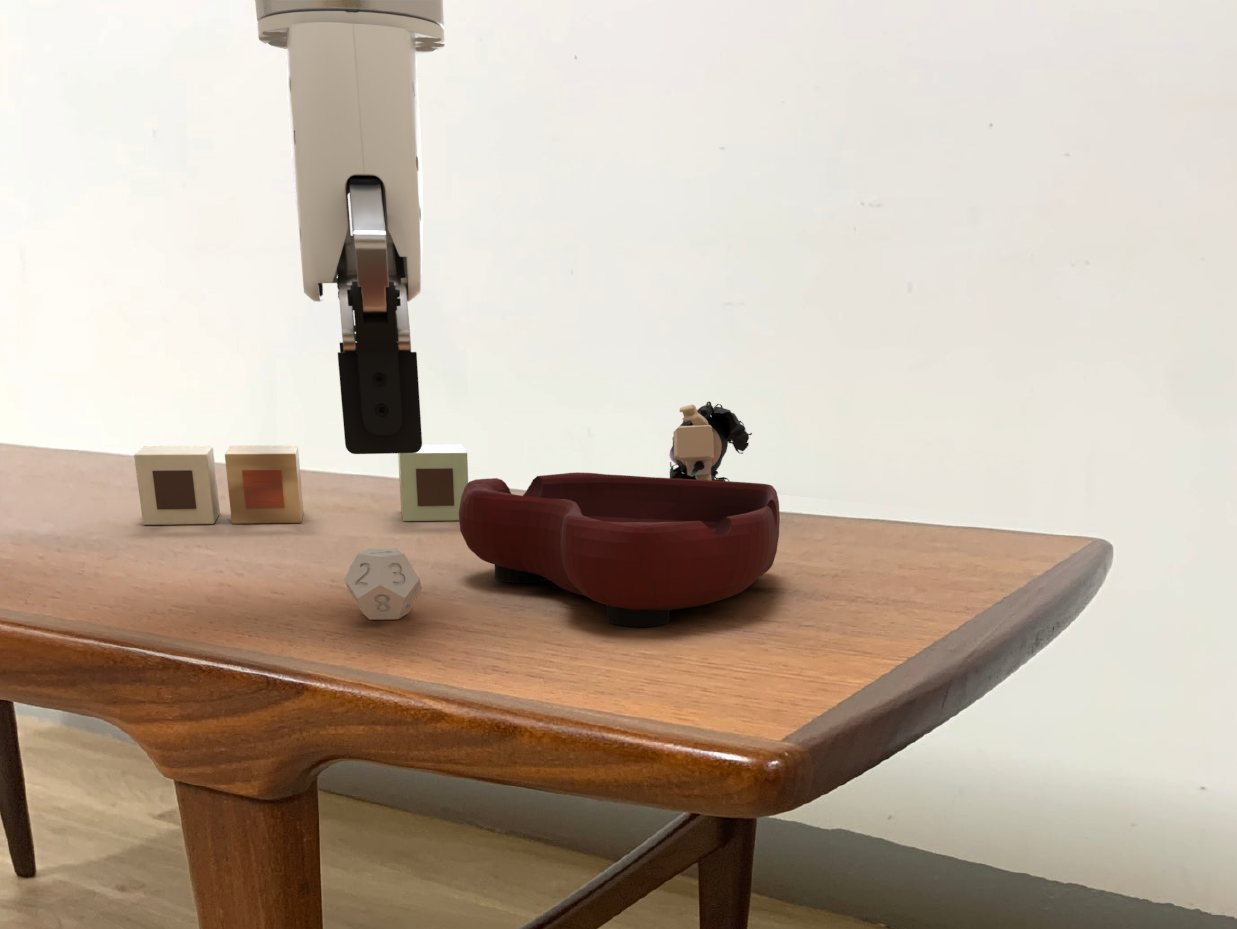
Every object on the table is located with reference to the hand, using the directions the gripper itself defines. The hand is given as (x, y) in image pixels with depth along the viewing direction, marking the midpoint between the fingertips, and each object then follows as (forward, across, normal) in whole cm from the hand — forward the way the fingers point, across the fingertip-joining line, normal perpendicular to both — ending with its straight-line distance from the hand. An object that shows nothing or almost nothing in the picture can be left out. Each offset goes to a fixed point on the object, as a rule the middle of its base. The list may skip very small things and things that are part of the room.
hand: (382, 440), depth 61 cm
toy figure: (+5, -33, +21) cm, 39 cm away
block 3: (+8, -29, +4) cm, 30 cm away
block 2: (+8, -29, -8) cm, 31 cm away
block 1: (+8, -29, -13) cm, 33 cm away
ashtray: (+8, -5, +14) cm, 17 cm away
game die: (+8, 0, 0) cm, 8 cm away
